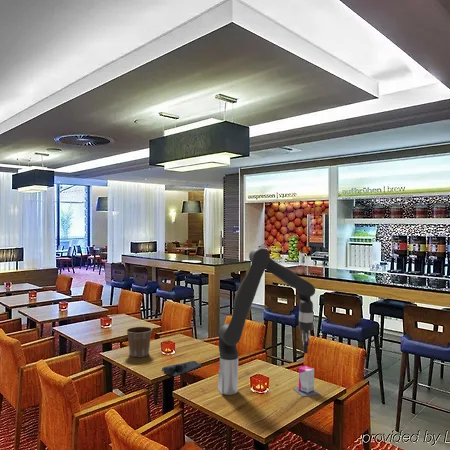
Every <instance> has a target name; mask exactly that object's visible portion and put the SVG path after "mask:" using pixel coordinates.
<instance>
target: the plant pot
mask: <svg viewBox="0 0 450 450" xmlns="http://www.w3.org/2000/svg"><path fill="white" fill-rule="evenodd" d="M125 331H126V333H127V339H128V340H127V341H128V350H129V351H128V352H129V356H130V357H131V358H136V357H137V358H145V357H147V356H149V354H150V347H151V346H150V344H151V336H152V331H153V328H152V327H149V326H133V327H130V328H126V330H125Z"/></svg>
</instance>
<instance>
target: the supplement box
mask: <svg viewBox="0 0 450 450" xmlns="http://www.w3.org/2000/svg"><path fill="white" fill-rule="evenodd" d="M298 387H299V391H301V392H304V393H307V394H309V393H311V392H313V391H314V389H315V368H314V367H310V366H307V365H304V366H301V367H299V368H298Z"/></svg>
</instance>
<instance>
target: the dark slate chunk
mask: <svg viewBox="0 0 450 450" xmlns="http://www.w3.org/2000/svg"><path fill="white" fill-rule="evenodd" d="M201 367H202V364H201V363H199V362H197V361H196V360H189V361H185V362H182V363H175V364H172V365H167V366H166V365H165V366H164V367H162V369H161V372H164V374H166V375H168V376H171V377H175V378H176V377H178V376H182V375H186V374H187V373H191V372H193V371H195V370H197V369H199V368H201Z"/></svg>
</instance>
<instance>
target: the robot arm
mask: <svg viewBox="0 0 450 450" xmlns="http://www.w3.org/2000/svg"><path fill="white" fill-rule="evenodd" d="M270 254H271V253H270V252H269V251H268V249H266V248H263V247H262V248H261V247H256V248H253V249H252V250H251V251H250V252H249V254H248V258H249V261H250V262H251V263H250V267H249V269H248V272H247V274H246V275H245V277H244V278H243V280H242V281H241V282H240V284H239V286H238V289H237V291H236V294H235V297H234V299H233V300H234V301H233V309H232V310H233V311H232V316H231V319H230V322H229V323H226V324H224V325H222V326H221V327H220V329H219V331H218V352H219V371H218V373H217V375H218V376H217V377H218V379H217V381H218V382H217V390H218V392H219V393H220V394H221V395H225V396H227V395H228V396H231V395H235V394H237V393H238V392H239V391H238V390H239V389H238V388H239V387H238V386H239V350H238V348H237V344H238V343H239V342H240V340H241V338H242V334H243V331H244V326H245V323H246V320H247V318H248V315H249V312H250V310H251V306H252V304H253V302H254V300H255V296H256V294H257V291H258V289H259V285H260V282H261V280H262V277H263V275H264V272H265V271H268V272H269V273H270V274H272V275H274V276H275V277H277V278H278V279H279V280H281V281H282V282H284V283H285V284H286V285H288V286H289V287H291V288H293V289H295V290H296V291H297V295H298V301H299V311H298V329H299V330H300V331H301V336H302V337H301V341H302V348H303V351H302V353H304V354H308V353H309V352H308V351H309V348H308V347H309V346H310V345H309V344H310V337H311V334H310V332H309V331H313V330H314V303H313V301H312V300H311V297H313V296H314V295H315V293H316V288H315V286H314V285H313V284H312V283H311V282H309V281H307V280H306V279H304V278H303V277H301V276H299V275H298V274H296V273H295V272H293V270H291V269H289V268H287V267H286V266H284V265H282V264H280V263H278V262H276V261H275V260H274V259H272V258H271V255H270Z"/></svg>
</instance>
